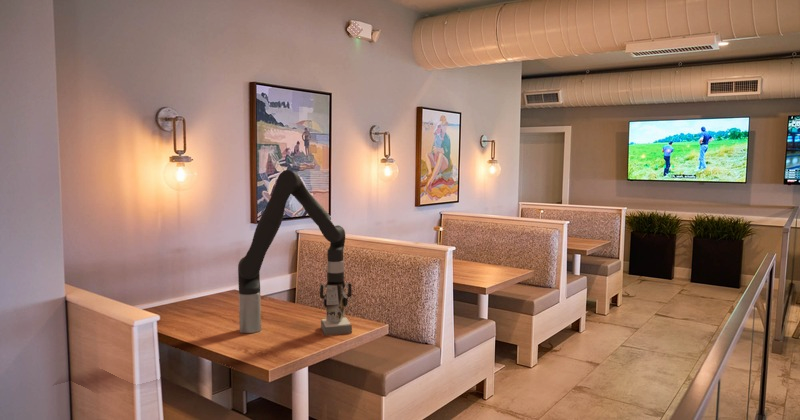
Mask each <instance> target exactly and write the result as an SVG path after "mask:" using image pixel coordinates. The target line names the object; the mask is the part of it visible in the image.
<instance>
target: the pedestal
mask: <svg viewBox="0 0 800 420" xmlns="http://www.w3.org/2000/svg"><path fill="white" fill-rule="evenodd" d="M320 329H321V331H322V333H323V335H324V336H335V335H345V334H346V335H347V334H353V326H352V324H351V322H350V320H349V319H348V318H347V317H346V316H344V317H343V318H342V319H341V321H327V320H326V318H322V319H321V320H320Z"/></svg>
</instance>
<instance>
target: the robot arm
mask: <svg viewBox="0 0 800 420" xmlns="http://www.w3.org/2000/svg"><path fill="white" fill-rule="evenodd" d="M291 195H292V196H293V197H294V198H295V199H296V200H297V201H298V202H299V203H300V205H301V206H302V207H303V209H304V210H305V212H306V213H307V215H308V216H309V217H310V219H311V220H312V221H313V222H314V223H315V225H317V226H318V229H319V230H320V232H321V234H322V235H323V238H325V239H326V241H328V242H329V244H330V245H329V248H328V249H327V255H326V256H327V260H326V261H327V263H326V284H322V283H321V284H319V298H320V299H323V306H324V307H325V308H326V309H327V291H325V292H326V293H325V294H324V290H325V289H326V288H327V284H336V283H342V284H343V289H344V291H343V290H342V294H343V295H344V308H345V307H347V305H348V299H349V298H352V295H353V293H352V291H353V290H352V283H351V282H345V262H344V248H345V242H346V232H345V229H344V227H343V226H341V225H335V224H334V223H333V221H331V220H332V218H331V217H332V216H331V215H330V214H329V213H328V211H327V210H326V209H325V208H324V206H322V205H321V203H319V201H317V200H316V199H315V197H314V196H313V195H312V194H311V192H310V191H309V190H308V189H307V187H306V186H305V184H304V182H303V179H301V177H300V175H299V174H298V173H296V172H295V171H293V170H291V169H286V170H283V171H281V173H279V175H278V176H277V179H276V182H275V185H274V188H273V190H272V193H271V195H270V198H269V200H268V202H267V204H266V206H265V207H264V211H263V212H262V215H261V217H260V218H259V220H258V222H257V224H256V228H255V231H254V234H253V237H252V241H251V244H250V247H249V248H248V250H247V252H246V254H245V256H243V257H242V258H241V259H240V260H239V262H238V265H237V273H238V274H237V276H238V277H237V278H238V303H239V305H238V307H239V308H238V309H239V310H238V313H239V316H238V317H239V318H238V319H239V320H238V321H239V322H238V323H239V333H240V334H255V333H258V332H260V331H261V330H262V314H261V313H262V311H261V302H262V301H261V279H260V275H261V274H260V272H261V268H262V265H263V262H264V259H265V256H266V254H267V253H268V252H267V251H268V250H269V248H270V246H271V244H272V243H273V241H274V239H275V237H276V235H277V233H278V231H279V229H280V226H281V225H282V222H283V220H284V215H285V209H286V205H287V202H288V199H289V197H290V196H291ZM345 287H346V289H347V294H346V293H345Z"/></svg>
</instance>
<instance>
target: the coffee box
mask: <svg viewBox="0 0 800 420" xmlns="http://www.w3.org/2000/svg"><path fill="white" fill-rule="evenodd" d="M326 284H327V283H326ZM342 290H343V291H344V292H345V288H344V289H343V284H342V283H336V284H327V287H326V292H327V308H326V318H325V319H326V320H327V321H341V319H342V318H345V307H344V295H343V294H342Z"/></svg>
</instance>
